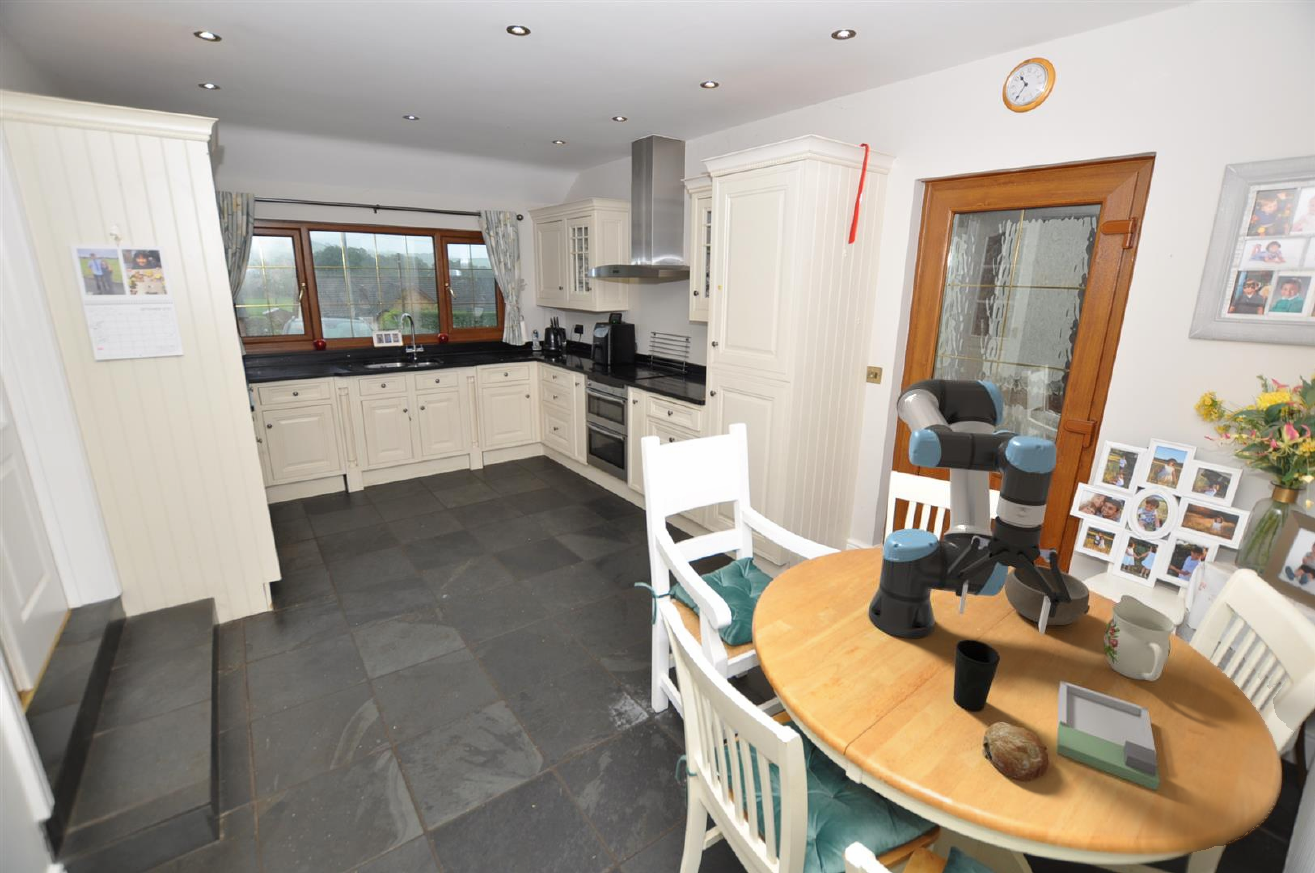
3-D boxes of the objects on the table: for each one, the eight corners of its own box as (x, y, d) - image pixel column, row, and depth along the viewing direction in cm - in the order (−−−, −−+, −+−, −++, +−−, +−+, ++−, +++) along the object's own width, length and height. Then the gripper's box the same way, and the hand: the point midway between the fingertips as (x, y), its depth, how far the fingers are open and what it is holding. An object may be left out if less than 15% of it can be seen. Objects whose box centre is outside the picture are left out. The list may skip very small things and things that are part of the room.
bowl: (1095, 619, 145) (1103, 583, 142) (1063, 644, 135) (1071, 606, 133) (1021, 589, 159) (1028, 556, 156) (988, 609, 149) (994, 575, 146)
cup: (995, 718, 113) (1005, 666, 110) (953, 712, 114) (962, 660, 111) (982, 691, 120) (992, 641, 117) (943, 686, 122) (951, 637, 118)
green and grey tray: (1056, 753, 105) (1061, 734, 104) (1058, 690, 120) (1062, 674, 119) (1156, 790, 97) (1162, 771, 96) (1144, 719, 113) (1149, 702, 112)
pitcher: (1119, 694, 119) (1134, 637, 115) (1085, 642, 136) (1098, 591, 132) (1183, 706, 116) (1201, 647, 112) (1141, 651, 133) (1156, 599, 129)
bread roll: (976, 753, 109) (964, 723, 107) (1027, 731, 109) (1016, 700, 107) (1011, 799, 100) (999, 767, 98) (1067, 775, 99) (1056, 742, 97)
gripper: (943, 514, 110) (929, 612, 116) (1105, 542, 98) (1080, 649, 104) (945, 500, 116) (931, 594, 122) (1097, 525, 105) (1074, 627, 111)
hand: (1000, 620), depth 113 cm, fingers open, 13 cm apart
